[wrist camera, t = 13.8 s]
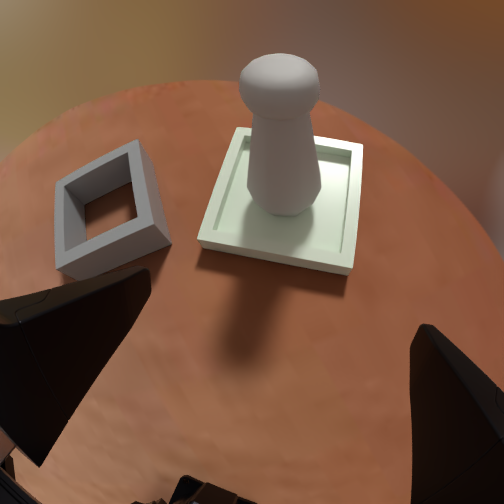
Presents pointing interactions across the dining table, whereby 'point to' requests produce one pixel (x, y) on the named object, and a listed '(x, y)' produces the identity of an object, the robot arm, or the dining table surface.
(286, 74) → the salt shaker
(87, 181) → the holder
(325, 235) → the tray
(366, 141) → the dining table surface
